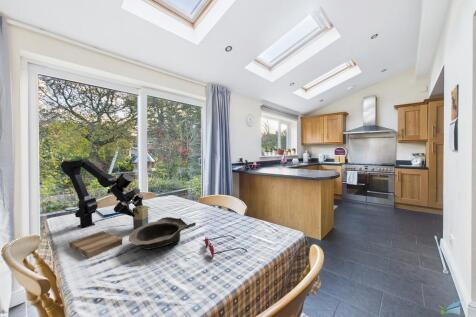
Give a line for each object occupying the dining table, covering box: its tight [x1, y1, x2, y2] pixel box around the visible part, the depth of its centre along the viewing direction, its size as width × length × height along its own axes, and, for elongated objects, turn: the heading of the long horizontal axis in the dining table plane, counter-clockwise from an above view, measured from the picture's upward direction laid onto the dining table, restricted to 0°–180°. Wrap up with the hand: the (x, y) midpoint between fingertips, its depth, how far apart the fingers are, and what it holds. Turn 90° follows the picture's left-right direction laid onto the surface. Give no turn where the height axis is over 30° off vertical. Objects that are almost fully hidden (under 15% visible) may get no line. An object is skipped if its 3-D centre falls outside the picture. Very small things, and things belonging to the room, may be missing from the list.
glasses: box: [202, 234, 248, 259], centre depth 92 cm, size 14×16×5 cm
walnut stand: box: [69, 230, 124, 259], centre depth 95 cm, size 18×14×2 cm
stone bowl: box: [128, 216, 188, 250], centre depth 96 cm, size 25×25×9 cm
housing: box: [132, 205, 149, 231], centre depth 115 cm, size 6×6×12 cm
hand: (139, 213), depth 115 cm, fingers open, 9 cm apart
